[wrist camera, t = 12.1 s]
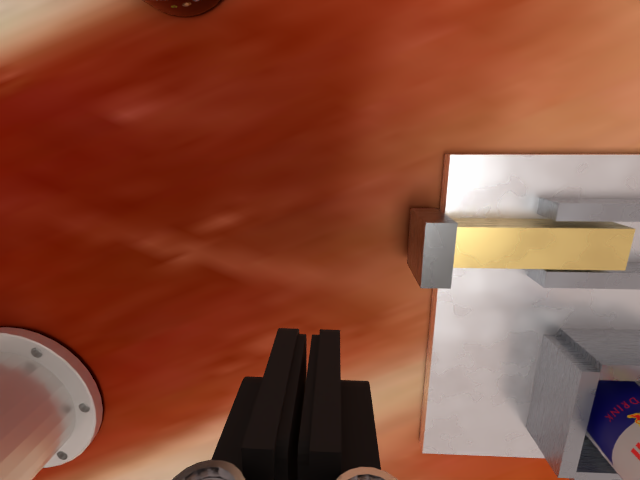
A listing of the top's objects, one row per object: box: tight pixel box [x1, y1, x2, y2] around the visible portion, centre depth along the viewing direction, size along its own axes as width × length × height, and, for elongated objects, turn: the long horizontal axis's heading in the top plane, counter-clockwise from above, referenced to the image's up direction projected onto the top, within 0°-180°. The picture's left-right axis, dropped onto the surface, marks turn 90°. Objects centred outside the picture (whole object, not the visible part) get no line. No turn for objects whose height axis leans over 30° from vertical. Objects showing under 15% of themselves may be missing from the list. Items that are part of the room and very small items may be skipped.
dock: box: [419, 154, 640, 480], centre depth 22 cm, size 18×22×5 cm
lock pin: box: [407, 208, 635, 289], centre depth 20 cm, size 12×4×4 cm, turn 90°
